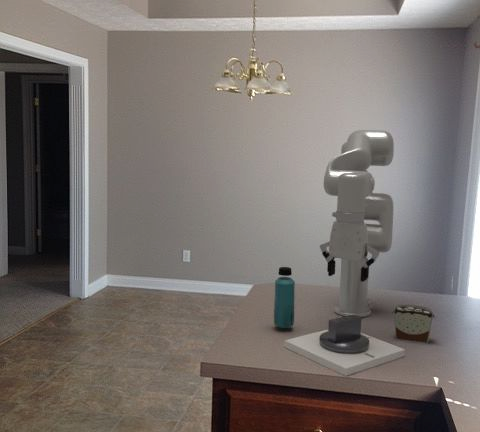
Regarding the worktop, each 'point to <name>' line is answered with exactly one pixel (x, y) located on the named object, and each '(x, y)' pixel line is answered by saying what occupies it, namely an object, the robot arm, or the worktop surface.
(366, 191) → the robot arm
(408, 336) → the food container
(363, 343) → the dial
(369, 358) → the dial plate
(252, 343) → the worktop surface
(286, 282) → the beverage bottle
